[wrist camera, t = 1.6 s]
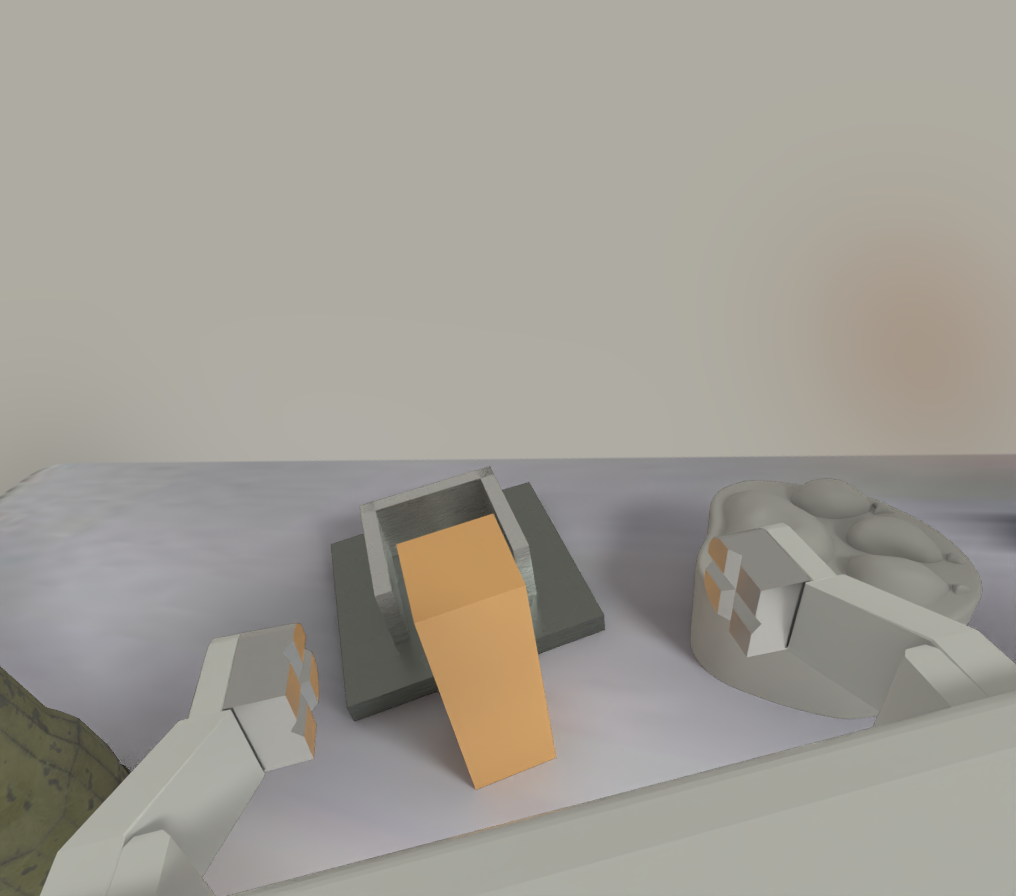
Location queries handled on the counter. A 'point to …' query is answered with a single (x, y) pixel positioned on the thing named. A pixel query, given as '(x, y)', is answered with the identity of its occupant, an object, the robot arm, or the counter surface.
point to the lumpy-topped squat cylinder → (846, 550)
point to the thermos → (45, 785)
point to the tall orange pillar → (480, 646)
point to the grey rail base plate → (384, 600)
